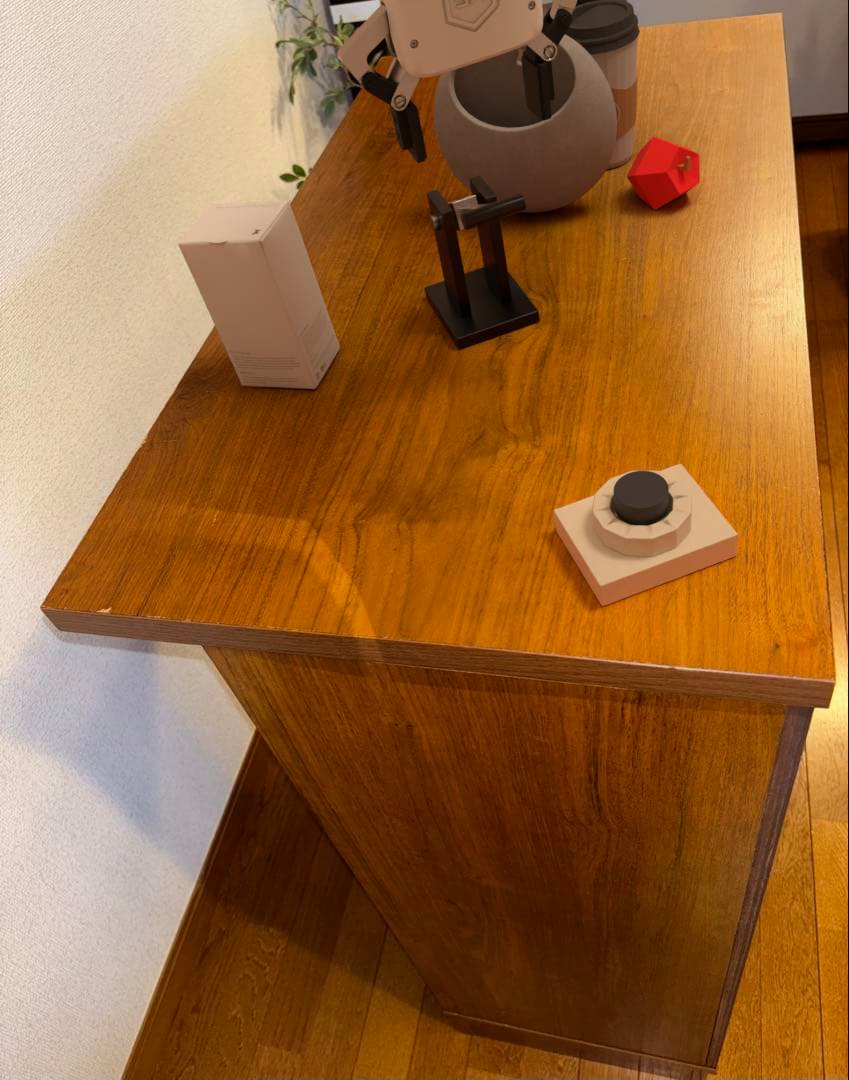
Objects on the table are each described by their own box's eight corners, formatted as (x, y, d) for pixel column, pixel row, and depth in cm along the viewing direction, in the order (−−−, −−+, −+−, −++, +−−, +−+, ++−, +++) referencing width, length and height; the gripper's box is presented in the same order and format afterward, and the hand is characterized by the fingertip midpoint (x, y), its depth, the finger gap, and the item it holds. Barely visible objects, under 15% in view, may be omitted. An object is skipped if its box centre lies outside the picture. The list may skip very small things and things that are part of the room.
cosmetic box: (342, 350, 93) (295, 197, 82) (315, 394, 89) (262, 240, 78) (265, 346, 96) (210, 198, 85) (235, 389, 92) (173, 240, 81)
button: (653, 482, 68) (653, 463, 67) (678, 514, 66) (678, 496, 64) (606, 499, 68) (604, 481, 67) (629, 533, 65) (627, 515, 64)
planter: (441, 229, 105) (405, 47, 91) (460, 195, 109) (428, 17, 96) (614, 228, 98) (603, 32, 85) (627, 192, 103) (618, 0, 89)
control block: (680, 484, 72) (680, 444, 70) (737, 556, 67) (739, 515, 64) (555, 530, 72) (550, 491, 69) (602, 607, 66) (598, 568, 63)
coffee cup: (564, 179, 107) (551, 36, 96) (569, 143, 113) (557, 4, 102) (643, 171, 105) (638, 24, 94) (644, 135, 110) (639, -8, 100)
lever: (529, 217, 77) (521, 185, 76) (469, 237, 76) (461, 206, 75) (490, 217, 88) (483, 190, 87) (438, 235, 87) (430, 208, 87)
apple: (607, 145, 99) (658, 137, 92) (660, 132, 102) (713, 123, 95) (615, 215, 102) (666, 212, 95) (667, 201, 104) (720, 198, 97)
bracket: (540, 321, 90) (525, 202, 81) (458, 350, 89) (435, 233, 81) (501, 271, 97) (484, 157, 88) (426, 297, 96) (401, 185, 88)
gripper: (316, -85, 56) (381, 192, 68) (593, -171, 58) (609, 115, 70) (289, -109, 61) (354, 152, 74) (543, -188, 63) (566, 81, 75)
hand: (478, 134), depth 72 cm, fingers open, 9 cm apart
